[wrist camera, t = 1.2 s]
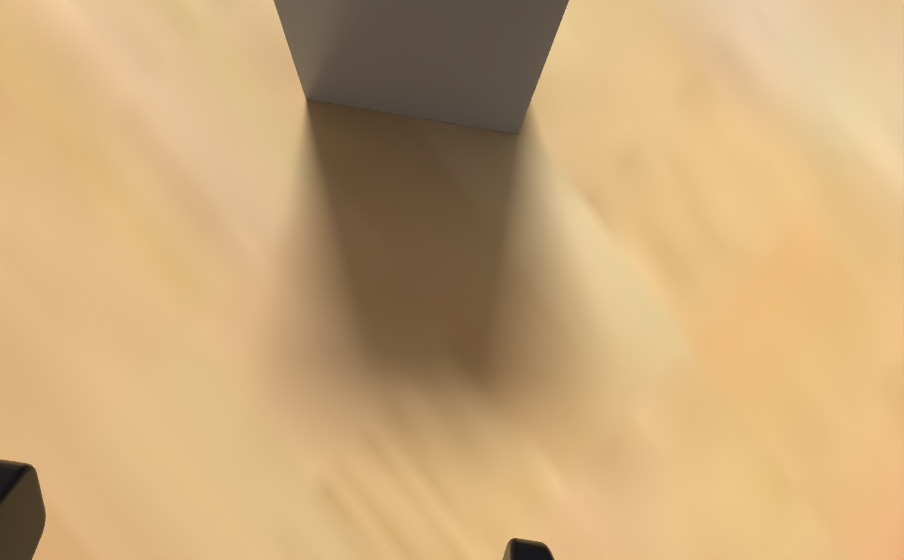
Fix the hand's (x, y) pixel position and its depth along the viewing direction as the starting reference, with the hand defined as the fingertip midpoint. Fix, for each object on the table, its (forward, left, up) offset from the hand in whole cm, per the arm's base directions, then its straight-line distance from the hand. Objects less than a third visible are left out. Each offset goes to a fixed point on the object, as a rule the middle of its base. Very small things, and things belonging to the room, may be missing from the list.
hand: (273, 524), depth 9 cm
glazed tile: (+10, +2, -13) cm, 16 cm away
